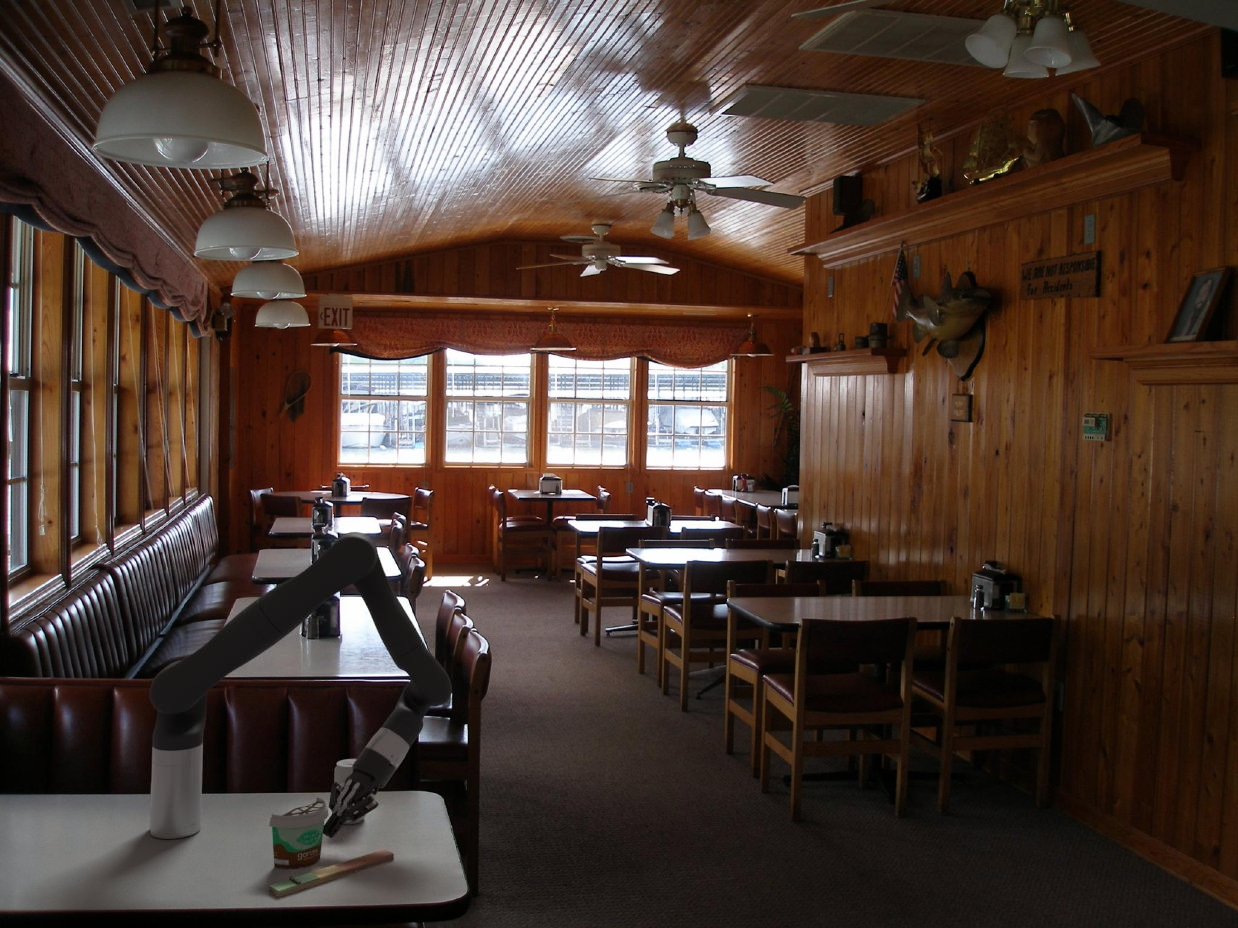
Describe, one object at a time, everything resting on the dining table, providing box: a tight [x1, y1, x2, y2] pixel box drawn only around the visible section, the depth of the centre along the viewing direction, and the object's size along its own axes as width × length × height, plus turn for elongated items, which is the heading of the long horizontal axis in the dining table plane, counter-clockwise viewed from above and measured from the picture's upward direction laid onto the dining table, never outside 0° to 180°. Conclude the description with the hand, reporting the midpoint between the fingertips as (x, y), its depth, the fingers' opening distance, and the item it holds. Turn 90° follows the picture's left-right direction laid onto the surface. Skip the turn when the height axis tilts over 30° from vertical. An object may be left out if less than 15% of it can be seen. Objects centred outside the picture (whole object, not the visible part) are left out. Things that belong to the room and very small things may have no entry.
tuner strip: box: [268, 848, 395, 898], centre depth 192 cm, size 3×24×2 cm, turn 139°
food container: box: [269, 796, 330, 870], centre depth 197 cm, size 12×6×10 cm, turn 151°
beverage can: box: [333, 758, 366, 825], centre depth 220 cm, size 6×6×12 cm
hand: (326, 835), depth 201 cm, fingers closed
